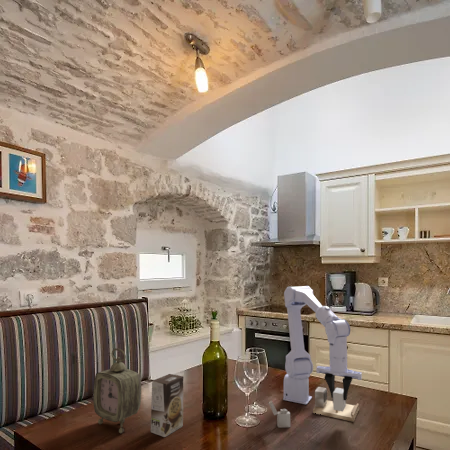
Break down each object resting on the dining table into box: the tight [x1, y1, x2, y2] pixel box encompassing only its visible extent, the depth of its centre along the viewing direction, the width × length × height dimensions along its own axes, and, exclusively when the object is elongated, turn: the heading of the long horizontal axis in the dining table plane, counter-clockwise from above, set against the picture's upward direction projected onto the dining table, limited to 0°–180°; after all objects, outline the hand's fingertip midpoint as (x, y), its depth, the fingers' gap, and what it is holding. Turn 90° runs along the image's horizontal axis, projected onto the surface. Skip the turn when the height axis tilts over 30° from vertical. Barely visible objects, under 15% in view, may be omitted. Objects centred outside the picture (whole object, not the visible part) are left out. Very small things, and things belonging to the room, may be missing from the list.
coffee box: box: [150, 373, 184, 438], centre depth 119 cm, size 9×6×16 cm
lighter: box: [268, 400, 291, 428], centre depth 121 cm, size 7×2×8 cm, turn 93°
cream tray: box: [312, 386, 360, 422], centre depth 132 cm, size 14×11×7 cm
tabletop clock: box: [92, 347, 142, 434], centre depth 122 cm, size 14×9×25 cm, turn 55°
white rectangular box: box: [332, 387, 347, 412], centre depth 121 cm, size 3×5×6 cm, turn 151°
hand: (339, 398), depth 122 cm, fingers closed on white rectangular box, 3 cm apart
